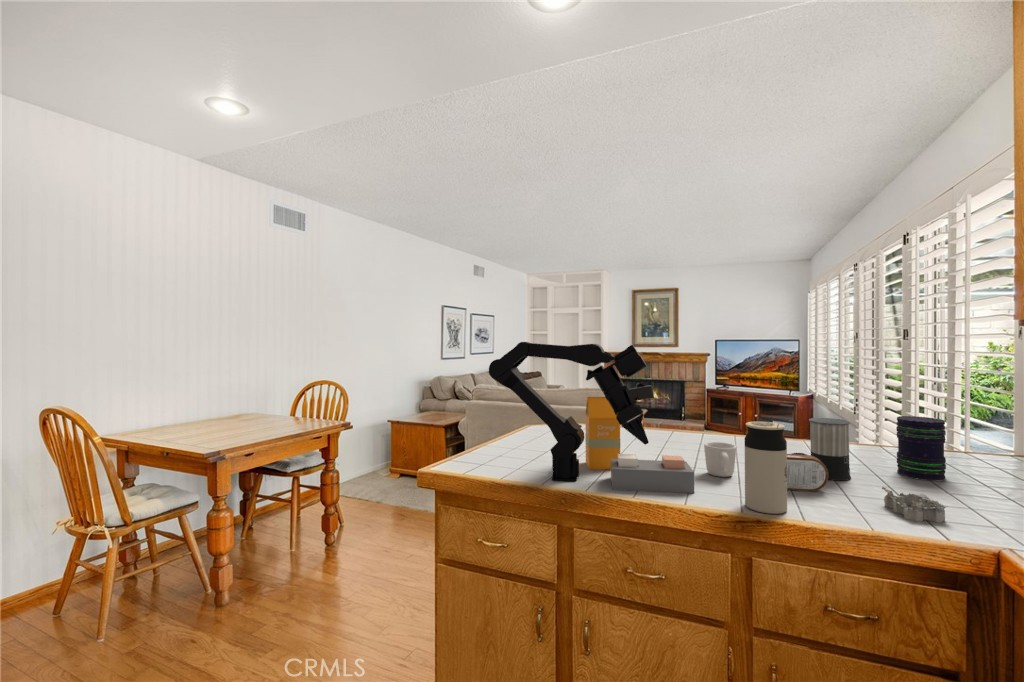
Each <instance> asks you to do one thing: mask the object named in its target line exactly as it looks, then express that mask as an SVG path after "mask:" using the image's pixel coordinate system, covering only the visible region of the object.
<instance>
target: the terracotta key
mask: <svg viewBox="0 0 1024 682" xmlns="http://www.w3.org/2000/svg"><path fill="white" fill-rule="evenodd" d="M661 461H662V466H663V468H670V469H684V461H685V459H684V458H683V457H682V456H681V455H661Z"/></svg>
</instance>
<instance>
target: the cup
mask: <svg viewBox="0 0 1024 682" xmlns="http://www.w3.org/2000/svg"><path fill="white" fill-rule="evenodd" d="M703 449H704V457H705V465H706V467H705V468H706V471H707V473H708V474H709V475H712V476H714V477H720V478H727V477H731V476H733V475H734V472H735V464H736V457H737V455H736V454H737V446H736V445H735V444H732V443H728V442H720V441H710V442H705V443H703Z"/></svg>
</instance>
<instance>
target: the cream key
mask: <svg viewBox="0 0 1024 682" xmlns="http://www.w3.org/2000/svg"><path fill="white" fill-rule="evenodd" d="M638 460H639V459H638V455H637V454H636V453H635V454H634V453H633V454H632V453H620V454H618V466H619V467H638Z"/></svg>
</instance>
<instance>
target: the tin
mask: <svg viewBox="0 0 1024 682" xmlns="http://www.w3.org/2000/svg"><path fill="white" fill-rule="evenodd" d="M828 476H829V474H828V470H827V468H826V466H825V465H824V464H823V463H822V462H821V461H820V460H819V459H818V458H816V457H814V456H811V454H810V455H809V454H807V455H797V454H792V453H787V491H800V492H801V491H802V492H817V491H819V490H821V489H823V488H825V486H826V485H827V483H828Z"/></svg>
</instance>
